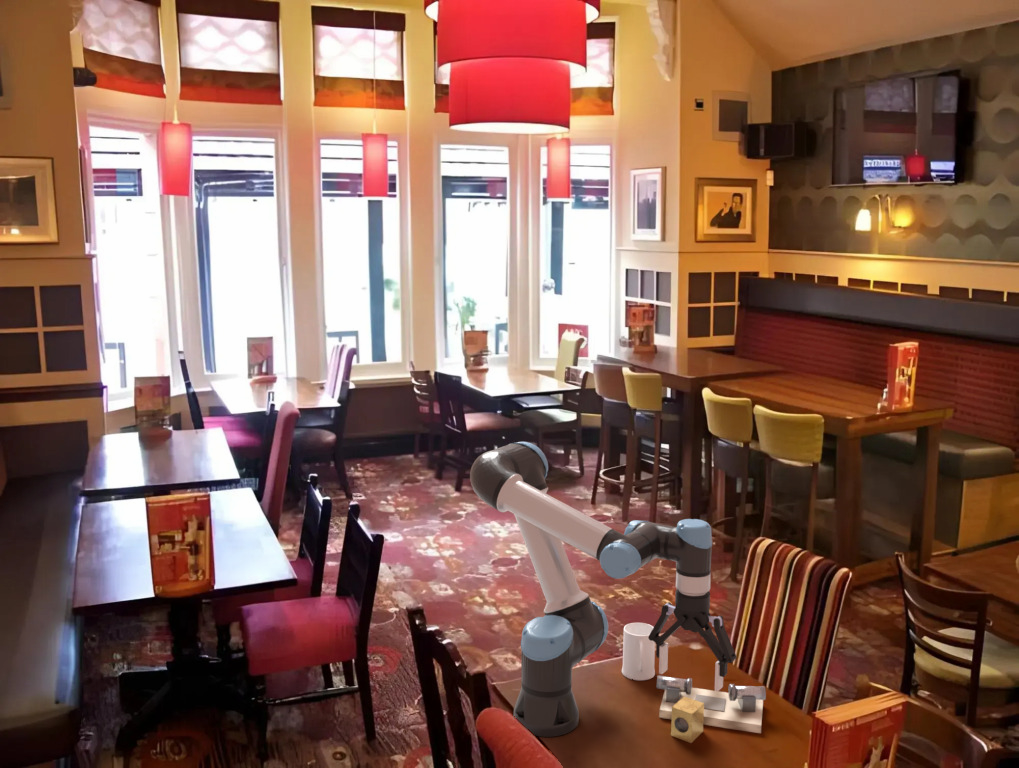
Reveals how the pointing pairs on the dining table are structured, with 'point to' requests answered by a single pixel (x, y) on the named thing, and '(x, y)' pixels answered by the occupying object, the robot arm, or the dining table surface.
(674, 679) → the shaft left
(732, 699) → the shaft right
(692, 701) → the wooden block with hole
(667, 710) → the bench
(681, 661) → the dining table surface
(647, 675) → the mug
